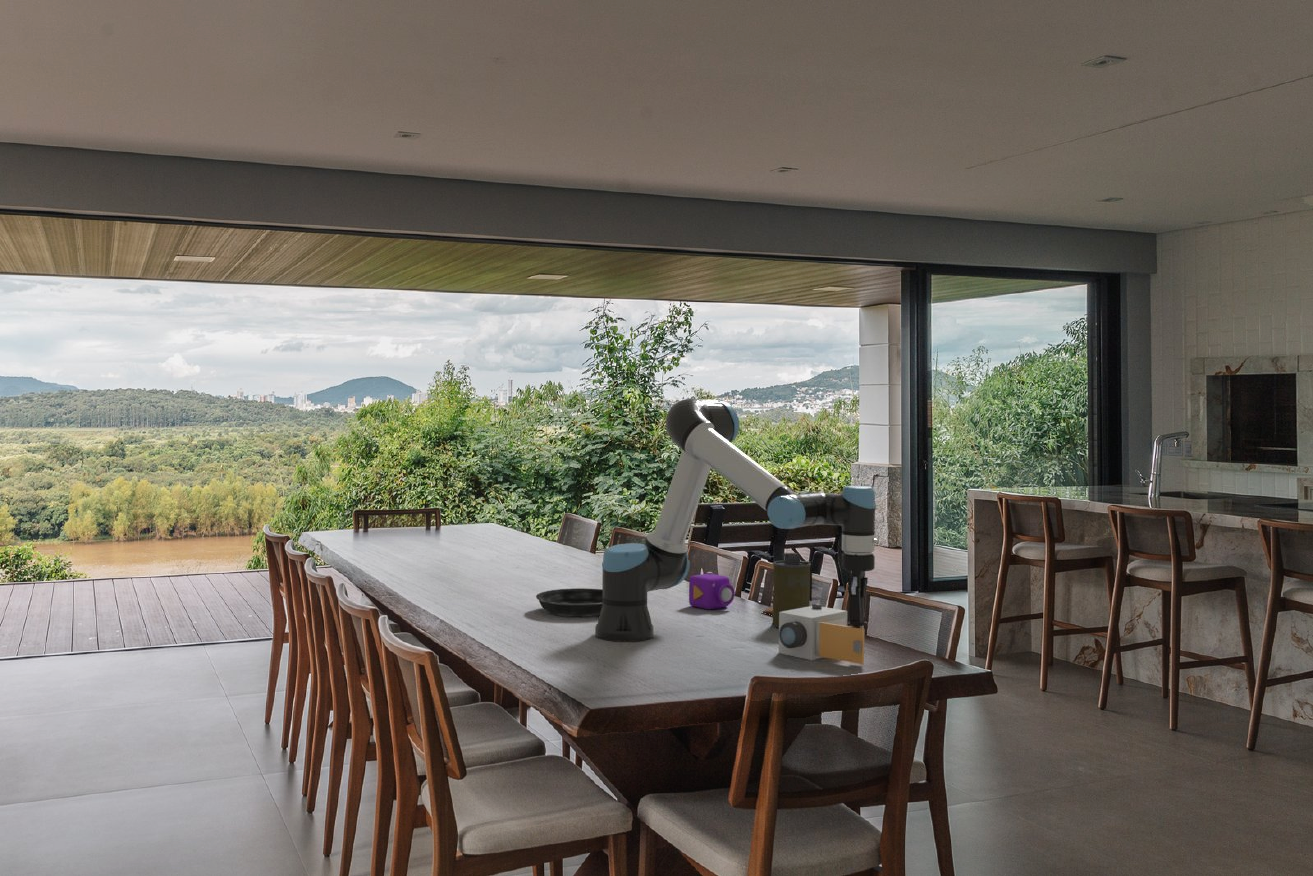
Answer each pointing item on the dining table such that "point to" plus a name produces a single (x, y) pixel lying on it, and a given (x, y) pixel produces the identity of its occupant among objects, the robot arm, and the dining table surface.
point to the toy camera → (710, 591)
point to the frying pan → (572, 602)
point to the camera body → (805, 629)
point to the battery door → (840, 642)
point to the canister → (791, 585)
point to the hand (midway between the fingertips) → (857, 653)
